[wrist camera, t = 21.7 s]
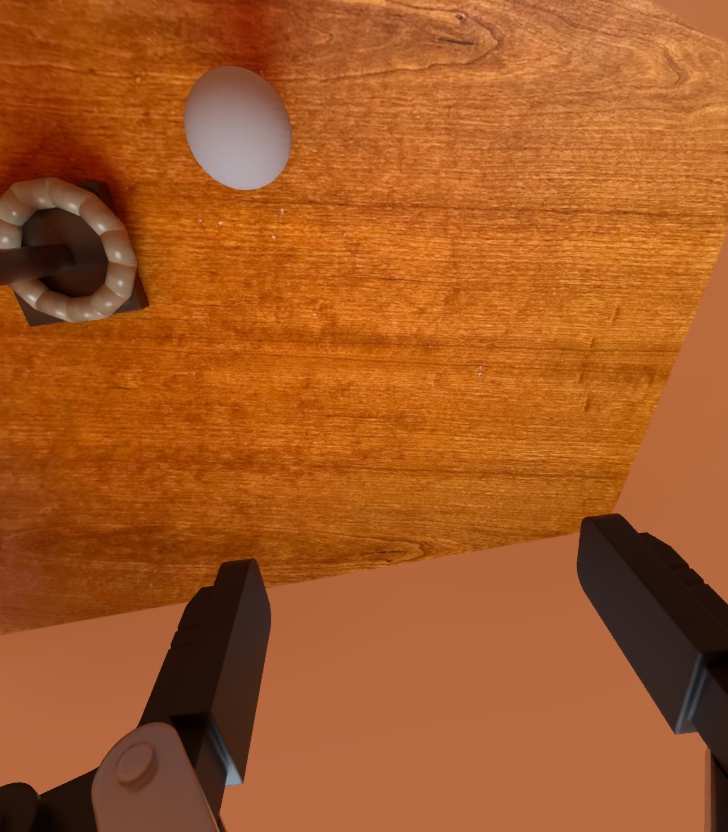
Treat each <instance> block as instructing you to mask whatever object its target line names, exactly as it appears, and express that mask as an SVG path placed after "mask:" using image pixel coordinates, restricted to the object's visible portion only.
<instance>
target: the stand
mask: <svg viewBox="0 0 728 832" xmlns="http://www.w3.org/2000/svg"><path fill="white" fill-rule="evenodd" d="M74 185H76V186H78V187H80V188H83V189H85V190H88V191H90V192H92V193H94V194H95V195H97V196H98V197H99V198H100V199H101V201H102V202H103V203H104V204H105V205H106V206H107V207H108V208H109V209H110V210H111V211H112V212H113V213H114V214H115V215H116V217H117V218H118V216H117V213H116V210H115V207H114V204H113V201H112V198H111V196H110V193H109V190H108V187H107V184H106V183H105V182H98V181H93V182H86V183H80V184H74ZM0 197H1V196H0ZM108 261H109V260H108V257H107V255H106V252H105V249H104V246H103V244H102V241H101V238H100V236H99V235H98V234H97V233H96V232H95V231H94V230H93V229H92V228H91V227H90V226H89V225H88V224H87V222H86V221H85V220H84V219H83V218H82V217H81V216H79V215H76V214H74V213H71V212H69V211H66V210H63V209H61V208H58V207H55V208H48V209H41V210H36V212H35V213H34V214H33V215H32V216H31V217H30V218H29V219H28V220H27V221H26V222H25V223H24V225H23V232H22V243H21V247H19V248H9V249H0V286H2V285H7V284H12V283H17V282H22V281H27V280H32V279H36V278H39V279H40V280H41V281H42V282H43V283H44V284H45V285H46V286H47V287H48V288H49V289H50V290H52V291H55V292H58V293H60V294H63V295H66V296H69V297H72V298H75V297H82V296H89V295H92V294H93V293H94V292H95V291H96V290H98V289H99V288H100V287H101V286H102V285H103V284H104V283H105V280H106V274H107V267H108ZM13 291H14V290H13ZM14 294H15V296H16V298H17V300H18V302H19V304H20V306H21V308H22V310H23V313H24V315H25V317H26V319H27V321H28V323H29V325H30V327H34V326H40V325H46V324H53V323H59V322H66V321H65V320H63V319H60V318H57V317H54V316H51V315H48V314H45V313H42V312H40V311H37V310H35V309H34V308H33V307H32V306H31V305H29V304H28V303H27V302H26V301H25V300H24V299H23V298H22V297H21V296H19V295H18V294H17V293H16V292H15V291H14ZM148 306H149V305H148V302H147V299H146V296H145V293H144V290H143V287H142V284H141V282H140V279H139V276H138V273H137V270H136V274H135V279H134V284H133V289H132V294H131V296H130V298H129V299H128V300H126V301H125V302H124V303H123V304H122V305H121V306H120V307H119V308H118V309H117V310H116V311H115V312H114V313H113V314H117V313H123V312H130V311H136V310H142V309H144V308H146V307H148Z"/></svg>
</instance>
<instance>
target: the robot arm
mask: <svg viewBox="0 0 728 832" xmlns="http://www.w3.org/2000/svg"><path fill="white" fill-rule="evenodd" d="M577 573H578V578H579V581H580V584H581V586H582V588H583V590H584V592H585V594H586V595H587V597H588V598H589V600H590V602H591V603H592V605H593V606H594V608H595V609H596V611H597V612H598V614H599V616H600V617H601V619H602V620H603V622H604V624H605V625H606V627H607V628H608V630H609V631H610V633H611V634H612V636H613V638H614V639H615V641H616V642H617V644H618V646H619V647H620V648H621V650H622V651H623V653H624V655H625V657H626V658H627V660H628V661H629V663H630V664H631V666H632V668H633V669H634V671H635V672H636V674H637V675H638V677H639V679H640V680H641V681H642V683H643V685H644V686H645V688H646V689H647V691H648V693H649V694H650V696H651V697H652V699H653V700H654V702H655V704H656V705H657V707H658V708H659V710H660V711H661V713H662V715H663V716H664V718H665V719H666V721H667V722H668V724H669V726H670V727H671V729H672V730H673V732H674V733H675V734H683V733H692V732H698V733H699V734H700V736H701V737H702V739H703V740H704V742H705V743H706V745H707V746H708V747H707V749H706V753H705V832H728V604H727V603H726V602H725V601H724V600H723V599H722V598H721V597H720V596H719V595H718V594H717V593H716V592H715V591H714V590H713V589H712V588H711V587H710V586H709V585H708V584H705V583H704V580H703V579H702V578H701V577H700V576H699V575H698V574H697V573H696V572H695V571H694V570H693V569H690V568H689V565H688V564H687V563H686V562H685V561H684V560H683V559H682V557H680V555H679V554H677V553H676V551H675V550H674V549H673V548H672V547H671V546H669V545H667V544H666V543H664V542H662V541H661V540H659V539H657V538H656V537H654V536H652V535H650V534H649V533H647V532H646V533H638V532H637V531H636V530H635V529H633V527H632V526H631V525H630V524H629V523H628V522H627V520H626V519H625V518H624V517H623V516H621V515H620V514H617V513H616V514H607V515H599V516H591V517H585V518H584V519H583V520H582V523H581V530H580V539H579V548H578V557H577ZM270 627H271V610H270V603H269V600H268V596H267V593H266V590H265V586H264V583H263V580H262V576H261V573H260V570H259V566H258V563H257V561H256V560H255V559H254V558H252V559H244V560H237V561H229V562H224V563H222V565H221V566H220V569H219V572H218V575H217V578H216V580H215V583H214V586H209V587H202V588H201V589H200V590H199V591H198V592H197V594H196V595H195V596H194V597H193V598H192V600H191V601H190V602H189V603H188V604H187V606H186V608H185V610H184V613H183V615H182V618H181V620H180V623H179V625H178V631H176V632H175V635H174V638H173V640H172V642H171V649H169V650H168V653H167V655H166V658H165V660H164V663H163V665H162V668H161V670H160V672H159V675H158V678H157V680H156V682H155V685H154V687H153V690H152V693H151V695H150V697H149V700H148V702H147V705H146V707H145V710H144V712H143V715H142V717H141V720H140V722H139V724H138V726H137V728H136V729H134V730H132V731H131V732H129V733H128V734H126V735H125V736H124V737H123V738H121V739H120V740H119V741H118V742H117V743H116V744H115V745H114V746H113V747H112V749H111V750H110V751H109V752H108V753H107V755H106V756H105V758H104V759H103V760H102V762H101V764H100V766H99V767H97V768H96V769H94V770H92V771H90V772H88V773H86V774H84V775H82V776H80V777H77V778H75V779H73V780H71V781H69V782H67V783H64V784H62V785H60V786H58V787H56V788H54V789H51V790H49V791H47V792H45V793H43V794H41V795H38V793H37V792H36V791H35V790H34V789H33V788H32V787H31V786H30V785H28V784H26V783H21V782H19V783H11V784H7V785H4V786H2V787H0V832H227V829H226V827H225V825H224V822H223V820H222V817H221V815H220V808H221V803H222V798H223V793H224V789H225V786H230V785H238V784H243V781H244V776H245V770H246V765H247V759H248V753H249V747H250V742H251V735H252V730H253V725H254V719H255V713H256V708H257V702H258V696H259V691H260V685H261V679H262V673H263V667H264V662H265V656H266V650H267V645H268V639H269V633H270Z"/></svg>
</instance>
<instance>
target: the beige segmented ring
mask: <svg viewBox="0 0 728 832" xmlns="http://www.w3.org/2000/svg"><path fill="white" fill-rule="evenodd" d="M55 207H58V208H61V209H63V210H66V211H69V212H71V213H74V214H76V215H79V216H81V217H82V218H83V219H84V220H85V221H86V222H87V224H88V225H89V226H90V227H91V228H92V229H93V230H94V231H95V232H96V233H97V234H98V235H99V236H100V238H101V241H102V244H103V246H104V249H105V252H106V255H107V257H108V260H109V261H108V267H107V274H106V280H105V283H104V284H103V285H102V286H101V287H100V288H99V289H98V290H96V291H95V292H94V293H93V294H92V295H89V296H82V297H75V298H72V297H69V296H66V295H63V294H60V293H58V292H55V291H52V290H50V289H49V288H48V287H47V286H46V285H45V284H44V283H43V282H42V281H41V280H40V279H39V278H36V279H32V280H27V281H22V282H17V283H12V284H7V285H8V286H9V287H11V288H12V289H13V290H14V291H15V292H16V293H17V294H18V295H19V296H21V297H22V298H23V299H24V300H25V301H26V302H27V303H28V304H29V305H31V306H32V307H33V308H34V309H35V310H37V311H40V312H42V313H45V314H48V315H51V316H54V317H57V318H60V319H63V320H65V321H68V322H72V323H77V322H84V321H91V320H98V319H104V318H107V317H109V316H111V315H112V314H113V313H114V312H115V311H116V310H117V309H118V308H119V307H120V306H121V305H122V304H123V303H124V302H125V301H126V300H128V299H129V298H130V296H131V294H132V289H133V284H134V279H135V274H136V268H137V260H136V257H135V254H134V251H133V248H132V245H131V242H130V239H129V236H128V233H127V230H126V227H125V226H124V224H123V223H122V222H121V221H120V220H119V219H118V218H117V217H116V215H115V214H114V213H113V212H112V211H111V210H110V209H109V208H108V207H107V206H106V205H105V204H104V203H103V202H102V201H101V199H100V198H99V197H98V196H97V195H95V194H94V193H92V192H90V191H88V190H85V189H83V188H80V187H78V186H76V185H73V184H71V183H68V182H66V181H63V180H61V179H58V178H55V177H46V178H39V179H33V180H26V181H20V182H15V183H13V184H12V185H11V186H10V187H9V188H8V189H7V190H6V192H5V193H4V194H3V195H2V196H1V197H0V249H9V248H19V247H21V243H22V232H23V225H24V223H25V222H26V221H27V220H28V219H29V218H30V217H31V216H32V215H33V214H34V213H35V212H36V210H41V209H48V208H55Z"/></svg>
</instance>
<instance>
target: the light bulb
mask: <svg viewBox="0 0 728 832" xmlns="http://www.w3.org/2000/svg"><path fill="white" fill-rule="evenodd" d="M184 126H185V132H186V137H187V140H188V143H189V146H190V149H191V151H192V153H193V155H194V157H195V158H196V160H197V161H198V163H199V164H200V165H201V167H202V168H203V169H204V170H205V171H206V172H207V173H208V174H209V175H210V176H211V177H213V178H214V179H215V180H217V181H218V182H220V183H222V184H224V185H226V186H228V187H231V188H235V189H241V190H252V189H257V188H261V187H263V186H265V185H267V184H269V183H270V182H272V181H273V180H274V179H275V178H276V177H277V176H278V175H279V174H280V173H281V172H282V170H283V169H284V167H285V165H286V163H287V161H288V158H289V155H290V150H291V144H292V131H291V124H290V120H289V116H288V113H287V110H286V108H285V105H284V103H283V102H282V100H281V98H280V96H279V95H278V93H277V92H276V91H275V89H274V88H273V87H272V86H271V85H270V84H269V83H268V82H267V81H266V80H265V79H263V78H262V77H261V76H259V75H258V74H256V73H254V72H252V71H250V70H248V69H245V68H242V67H237V66H222V67H218V68H214V69H212V70H210V71H208V72H206V73H205V74H204V75H203V76H201V77H200V78H199V79H198V80H197V81H196V83H195V84H194V85H193V87H192V89H191V90H190V92H189V95H188V98H187V100H186V105H185V110H184Z"/></svg>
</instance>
